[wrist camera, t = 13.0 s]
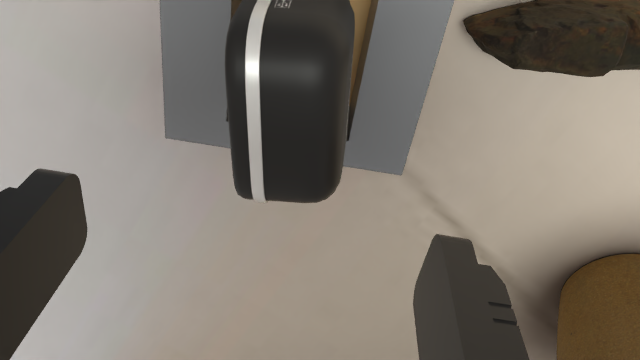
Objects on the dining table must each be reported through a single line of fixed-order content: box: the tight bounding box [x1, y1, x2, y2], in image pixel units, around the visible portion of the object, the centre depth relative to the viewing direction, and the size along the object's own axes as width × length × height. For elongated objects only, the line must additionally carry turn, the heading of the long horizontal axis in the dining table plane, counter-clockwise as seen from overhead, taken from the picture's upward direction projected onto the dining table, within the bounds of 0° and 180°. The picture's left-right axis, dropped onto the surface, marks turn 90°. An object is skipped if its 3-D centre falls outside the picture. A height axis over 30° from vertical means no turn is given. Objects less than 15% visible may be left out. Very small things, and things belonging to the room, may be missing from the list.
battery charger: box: [225, 0, 355, 203], centre depth 20 cm, size 7×4×11 cm, turn 178°
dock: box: [160, 0, 454, 175], centre depth 23 cm, size 12×12×4 cm
